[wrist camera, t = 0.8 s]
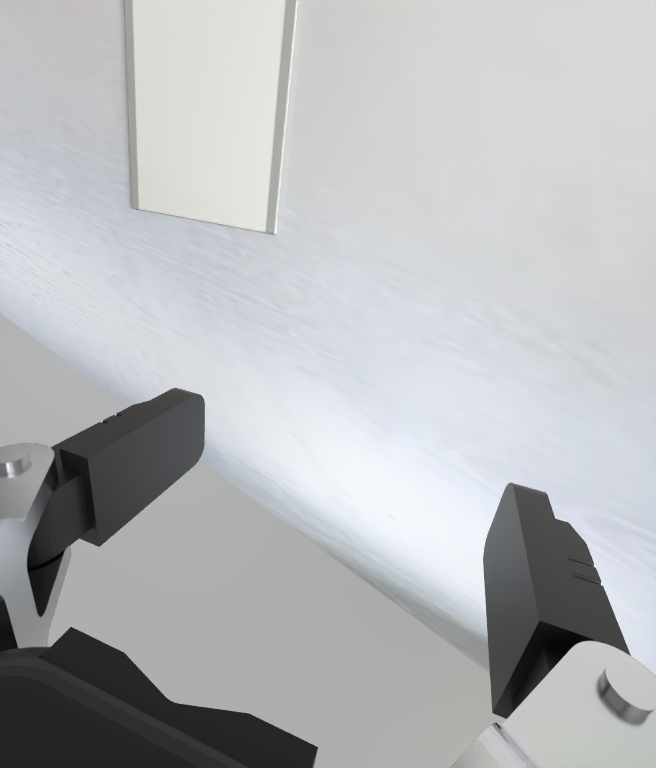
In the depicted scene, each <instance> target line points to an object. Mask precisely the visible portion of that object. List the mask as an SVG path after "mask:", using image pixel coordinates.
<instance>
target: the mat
mask: <svg viewBox="0 0 656 768" xmlns="http://www.w3.org/2000/svg"><path fill="white" fill-rule="evenodd" d="M298 2H299V0H124V10H125V38H126V65H127V92H128V120H129V147H130V175H131V202H132V208H136V209H141V210H147V211H152V212H158V213H163V214H168V215H174V216H179V217H185V218H190V219H196V220H201V221H206V222H212V223H217V224H223V225H228V226H234V227H239V228H244V229H250V230H255V231H261V232H266V233H271V234H276V229H277V218H278V208H279V198H280V187H281V177H282V167H283V156H284V146H285V136H286V126H287V115H288V105H289V95H290V84H291V74H292V64H293V53H294V43H295V33H296V22H297V12H298Z"/></svg>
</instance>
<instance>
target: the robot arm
mask: <svg viewBox="0 0 656 768" xmlns="http://www.w3.org/2000/svg"><path fill="white" fill-rule="evenodd" d="M204 432H205V403H204V399H203V397H202V396H201V395H199V394H196V393H192V392H189V391H185V390H182V389H178V388H173V389H171V390H169V391H167V392H165V393H163V394H161V395H159V396H158V397H156V398H154V399H152V400H150V401H146V402H143V403H139V404H135V405H132V406H130V407H128V408H126V409H124V410H123V411H121V412H119V413H117V415H116V416H115V415H113V416H111V417H109V418H107V419H105V420H104V421H103V422H102V423H101V422H99V423H97V424H95V425H93V426H92V427H89V428H87V429H86V430H84V431H82V432H80V433H78V434H76V435H74V436H72V437H70V438H68V439H66V440H64V441H62V442H60V443H59V444H57V445H55V446H53V447H51V448H50V447H48V446H46V445H43V444H38V443H20V444H13V445H8V446H3V447H0V768H313V767H314V763H315V758H316V754H317V749H318V747H316V746H314V745H312V744H310V743H308V742H306V741H304V740H302V739H300V738H298V737H296V736H294V735H292V734H290V733H288V732H285V731H284V730H282V729H279V728H277V727H275V726H273V725H271V724H269V723H267V722H265V721H263V720H261V719H259V718H257V717H255V716H253V715H251V714H248V713H241V712H234V711H227V710H219V709H213V708H205V707H197V706H191V705H184V704H178V703H174V702H172V701H170V700H168V699H167V698H166V697H165V696H164V695H163V694H162V693H161V692H160V691H159V690H158V688H157V687H156V686H155V685H154V684H153V683H152V682H151V681H150V680H149V679H148V678H147V677H146V676H145V675H144V674H143V672H142V671H141V670H140V669H139V668H138V667H137V666H136V665H135V664H134V663H133V662H132V661H131V660H130V659H129V657H128V656H127V655H126V654H125V653H124V652H122V651H120V650H117V649H115V648H113V647H111V646H109V645H107V644H105V643H103V642H101V641H99V640H97V639H95V638H93V637H91V636H89V635H87V634H85V633H83V632H81V631H78V630H76V629H74V628H72V627H70V628H69V629H68V631H66V633H64V634H63V636H61V638H59V639H58V640H57V641H56V642H55V643H54V644H53V646H51V647H47V642H48V641H47V640H48V635H49V630H50V626H51V623H52V619H53V616H54V613H55V609H56V606H57V602H58V599H59V596H60V592H61V589H62V585H63V582H64V579H65V576H66V572H67V569H68V565H69V562H70V559H71V546H70V545H71V544H72V543H74V542H75V541H76V540H78V539H79V538H80V539H82V540H84V541H87V542H89V543H92V544H94V545H96V546H99V547H100V546H101V545H102V544H103V543H104V542H106V541H107V540H108V539H109V538H110V537H111V536H113V535H114V534H115V533H116V532H117V531H118V530H120V529H121V528H122V527H123V526H124V525H125V524H126V523H128V522H129V521H130V520H131V519H133V518H134V517H135V516H136V515H137V514H138V513H140V512H141V511H142V510H143V509H144V508H145V507H146V506H148V505H149V504H150V503H151V502H152V501H153V500H155V499H156V498H157V497H158V496H159V495H161V494H162V493H163V492H164V491H165V490H166V489H168V488H169V487H170V486H171V485H172V484H173V483H174V482H176V481H177V480H178V479H179V478H180V477H182V476H183V475H184V474H185V473H186V472H187V471H188V470H190V469H191V468H192V467H193V466H194V465H195V464H196V463H197V462H198V461H199V459H200V457H201V455H202V452H203V449H204ZM483 564H484V581H485V597H486V614H487V630H488V647H489V663H490V680H491V695H492V712H493V713H494V714H496V715H499V716H501V717H503V718H506V721H505V722H504V723H503V724H501V725H500V726H499V725H498V724H497V723H494V724H492V725H491V726H490V727H488V728H487V729H486V730H485V731H484V732H483V733H482V734H481V735H480V736H479V737H478V738H477V739H476V741H474V742H473V744H472V745H471V746H470V747H469V748H468V749H467V750H466V751H465V752H464V753H463V754H462V755H461V756H460V757H459V758H458V760H457V761H456V762H455V763H454V764H453V765H452V766H451V767H450V768H656V676H655V675H654V674H653V673H652V672H651V671H650V670H649V669H647V668H646V667H645V666H644V665H643V664H641V663H640V662H639V661H637V660H636V659H635V658H633V657H631V655H630V653H629V650H628V648H627V645H626V643H625V640H624V637H623V635H622V632H621V630H620V627H619V625H618V622H617V620H616V617H615V615H614V612H613V610H612V607H611V605H610V602H609V600H608V597H607V595H606V592H605V590H604V587H603V586H601V580H600V577H599V575H598V572H597V570H596V568H595V567H594V562H593V560H592V557H591V555H590V552H589V549H588V547H587V544H586V543H585V541H584V540H583V539H582V538H581V537H580V536H579V534H578V533H577V532H576V531H575V530H574V529H573V527H572V526H571V525H570V524H569V523H568V522H565V521H561V520H558V519H555V517H554V514H553V511H552V507H551V504H550V501H549V498H548V495H547V494H546V493H545V492H542V491H538V490H535V489H531V488H528V487H524V486H521V485H517V484H513V483H509V484H508V485H507V486H506V488H505V490H504V493H503V496H502V498H501V501H500V503H499V506H498V509H497V511H496V514H495V517H494V519H493V522H492V524H491V527H490V530H489V532H488V535H487V538H486V543H485V548H484V557H483Z"/></svg>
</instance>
